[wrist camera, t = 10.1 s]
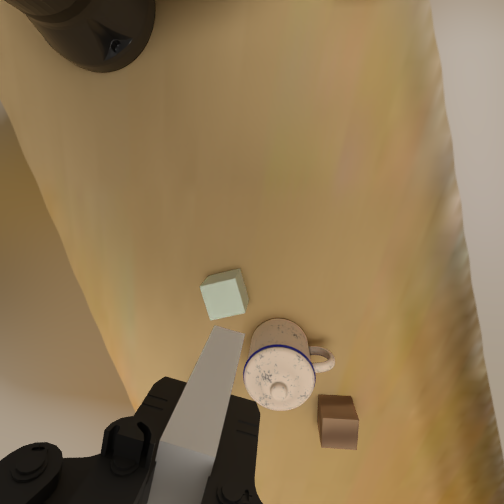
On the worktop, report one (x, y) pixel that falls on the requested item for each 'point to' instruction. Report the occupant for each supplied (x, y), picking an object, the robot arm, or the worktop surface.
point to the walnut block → (337, 422)
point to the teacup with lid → (282, 365)
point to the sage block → (225, 294)
